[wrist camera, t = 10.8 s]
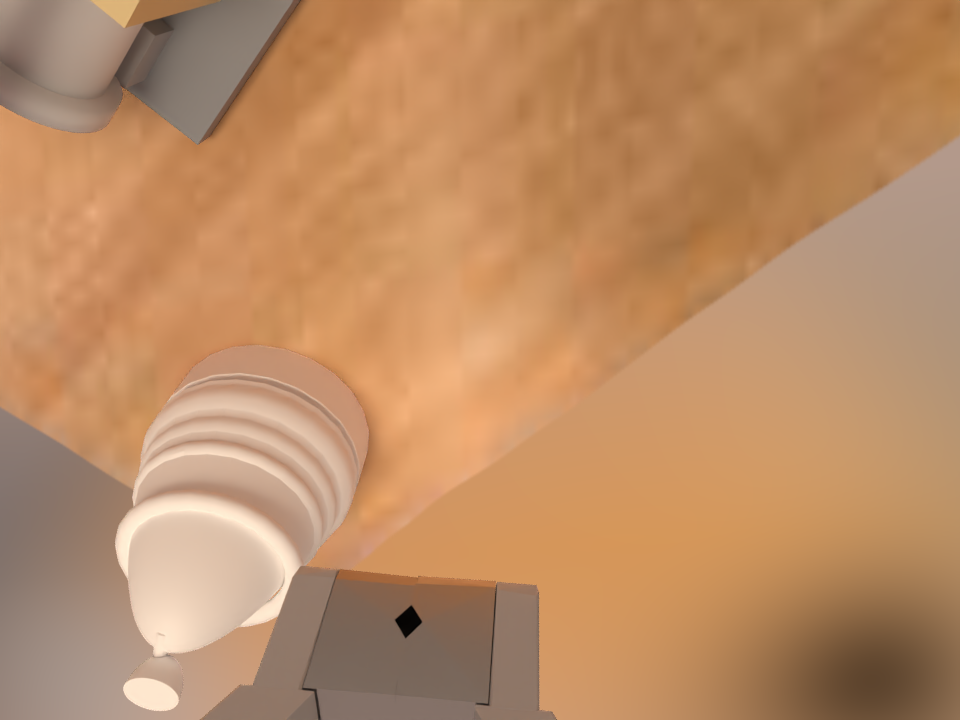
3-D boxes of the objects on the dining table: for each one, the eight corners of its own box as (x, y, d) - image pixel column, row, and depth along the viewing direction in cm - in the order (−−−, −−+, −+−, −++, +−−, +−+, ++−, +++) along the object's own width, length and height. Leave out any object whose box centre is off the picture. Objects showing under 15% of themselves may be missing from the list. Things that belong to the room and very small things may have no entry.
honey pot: (351, 516, 51) (276, 770, 36) (173, 473, 50) (17, 717, 35) (386, 375, 45) (312, 614, 29) (181, 321, 43) (-8, 541, 28)
